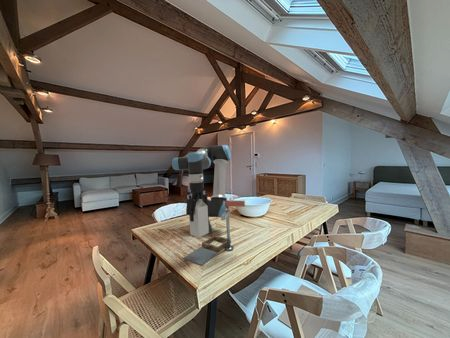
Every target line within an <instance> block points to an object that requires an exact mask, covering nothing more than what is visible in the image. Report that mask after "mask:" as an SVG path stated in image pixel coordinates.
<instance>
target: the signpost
mask: <svg viewBox="0 0 450 338" xmlns="http://www.w3.org/2000/svg"><path fill="white" fill-rule="evenodd" d="M245 206H246V200H229V199H227V201H225V207H226V209H225V210H224V213H223V214H222V216H221V217H220V219H221V221H225V224H226V238H227V246H228V248H231V246H232V245H231V244H232V242H231V243H230V239H231V229H230V227H231V226H230V215H231V209H230V207H232V208H233V207H236V208H237V207H238V208H239V207H241V208H243V207H245Z"/></svg>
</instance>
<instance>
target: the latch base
mask: <svg viewBox="0 0 450 338" xmlns="http://www.w3.org/2000/svg"><path fill="white" fill-rule="evenodd" d="M234 248H235V247H234V246H233V245H231V248H228V246H225V248H224V251H226V252H232V251H234V250H233V249H234Z"/></svg>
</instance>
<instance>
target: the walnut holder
mask: <svg viewBox="0 0 450 338" xmlns="http://www.w3.org/2000/svg"><path fill="white" fill-rule="evenodd" d="M215 241H217V242H220V243H221V244H220V245H219V246H217V245H213V244H212V243H213V242H215ZM230 243H231V244H232V239H231V238H230ZM225 246H227V237H223V236H219V235H216V234H215V235H212V236H211V237H210V238H208V239H206V240H205V241H203V242H202V243H201V247H202V248H205V249H208V250H211V251H214V252H217V253H220V252H222V251H223V250H225Z"/></svg>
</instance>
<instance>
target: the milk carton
mask: <svg viewBox="0 0 450 338" xmlns="http://www.w3.org/2000/svg"><path fill="white" fill-rule="evenodd" d="M194 215H195V218H196V228H194V227H191V221H190V215H188V217H189V218H188V219H189V221H188V222H189V234H190V235H191V236H193V237H197V238H201V237H203V236H205V235H207V234H209V233H210V232H209V225H208V208H207V205H206V204H205V203H204V202H202V199H198V201H197V202H196V207H195V212H194Z"/></svg>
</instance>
